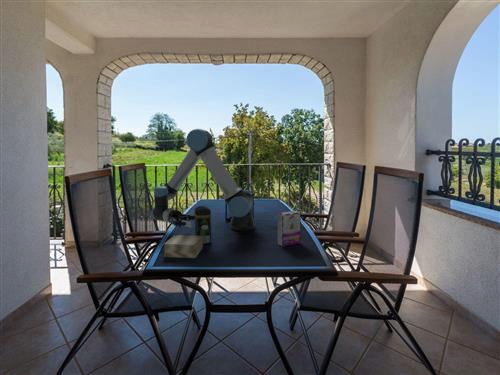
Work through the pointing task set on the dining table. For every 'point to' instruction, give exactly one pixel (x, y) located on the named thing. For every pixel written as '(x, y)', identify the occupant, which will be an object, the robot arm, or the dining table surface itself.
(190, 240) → the birch block
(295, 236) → the candy bar box
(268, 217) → the dining table surface
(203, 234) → the coffee jar
